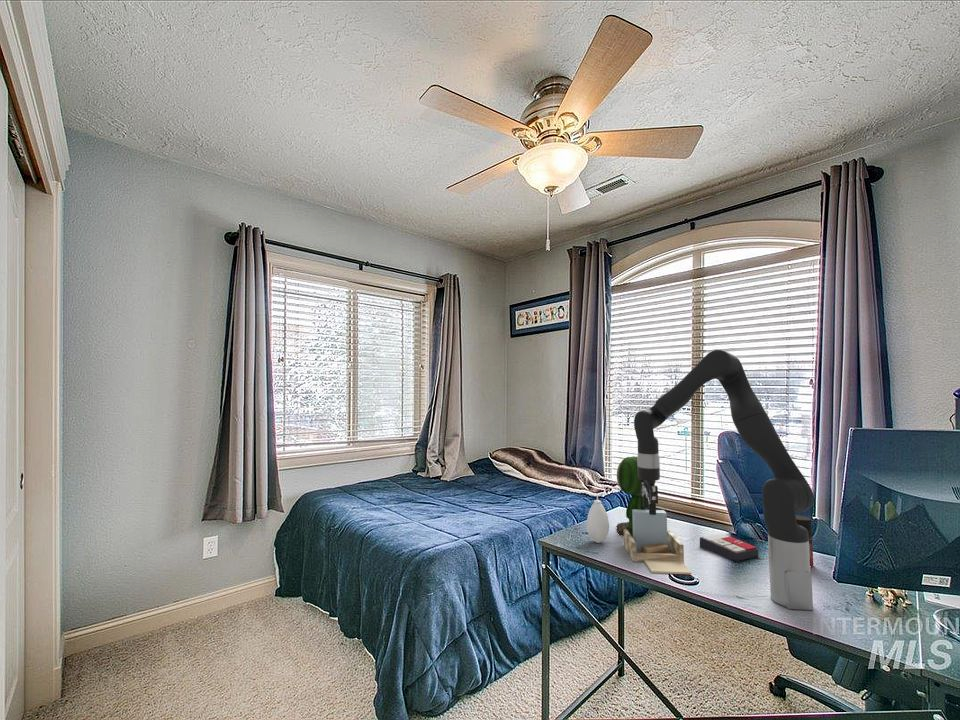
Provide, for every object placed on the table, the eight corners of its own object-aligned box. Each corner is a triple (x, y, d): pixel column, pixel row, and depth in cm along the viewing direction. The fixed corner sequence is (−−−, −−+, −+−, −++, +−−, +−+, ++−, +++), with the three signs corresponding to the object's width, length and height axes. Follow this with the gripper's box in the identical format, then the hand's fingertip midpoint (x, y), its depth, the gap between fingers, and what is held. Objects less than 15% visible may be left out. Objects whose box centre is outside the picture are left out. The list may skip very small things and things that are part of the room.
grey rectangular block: (667, 553, 156) (666, 513, 157) (635, 552, 157) (634, 512, 158) (664, 549, 159) (663, 510, 160) (633, 548, 161) (632, 509, 161)
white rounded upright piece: (598, 547, 162) (597, 497, 163) (583, 540, 169) (582, 492, 170) (613, 543, 166) (612, 494, 167) (598, 537, 173) (597, 490, 174)
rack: (684, 563, 147) (683, 544, 148) (633, 561, 149) (632, 543, 149) (670, 547, 162) (669, 530, 162) (623, 545, 164) (623, 529, 164)
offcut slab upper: (668, 552, 153) (668, 546, 153) (647, 555, 150) (647, 549, 150) (662, 549, 156) (662, 543, 156) (641, 552, 153) (641, 546, 153)
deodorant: (798, 559, 150) (796, 514, 151) (817, 565, 145) (815, 518, 146) (787, 562, 148) (785, 516, 149) (806, 568, 142) (803, 521, 143)
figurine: (625, 522, 191) (623, 452, 193) (672, 532, 178) (670, 457, 180) (606, 532, 179) (604, 456, 181) (655, 543, 165) (652, 462, 167)
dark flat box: (736, 551, 149) (699, 535, 163) (736, 564, 149) (698, 546, 163) (759, 546, 153) (720, 531, 167) (758, 559, 153) (720, 542, 167)
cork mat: (691, 574, 139) (691, 572, 139) (651, 572, 140) (651, 570, 140) (681, 563, 147) (681, 561, 148) (644, 561, 149) (644, 559, 149)
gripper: (665, 469, 152) (666, 517, 152) (653, 462, 167) (654, 506, 166) (642, 469, 153) (643, 516, 153) (633, 461, 167) (634, 505, 167)
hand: (649, 511), depth 159 cm, fingers open, 8 cm apart
